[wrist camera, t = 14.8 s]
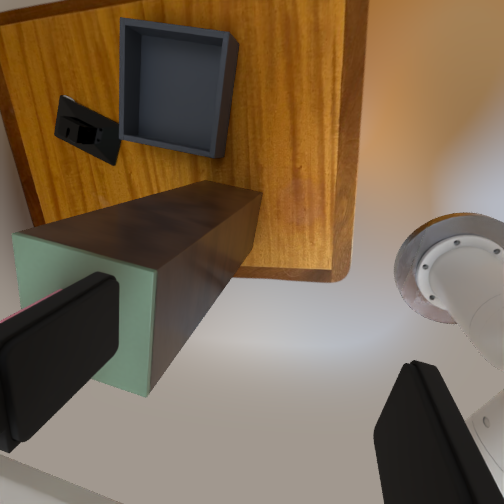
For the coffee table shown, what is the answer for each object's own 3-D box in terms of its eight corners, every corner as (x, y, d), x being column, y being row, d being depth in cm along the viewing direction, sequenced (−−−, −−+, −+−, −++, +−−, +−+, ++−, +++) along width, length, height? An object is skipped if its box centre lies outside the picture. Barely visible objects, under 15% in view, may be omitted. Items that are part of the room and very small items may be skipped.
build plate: (56, 135, 54) (32, 134, 49) (62, 93, 51) (38, 88, 46) (115, 166, 53) (96, 167, 48) (125, 125, 50) (106, 122, 46)
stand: (262, 192, 48) (153, 272, 18) (252, 249, 52) (146, 398, 21) (205, 180, 50) (10, 233, 19) (198, 236, 54) (26, 357, 23)
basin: (239, 43, 42) (229, 31, 38) (224, 157, 48) (214, 158, 44) (140, 29, 45) (119, 17, 40) (136, 139, 50) (118, 139, 46)
